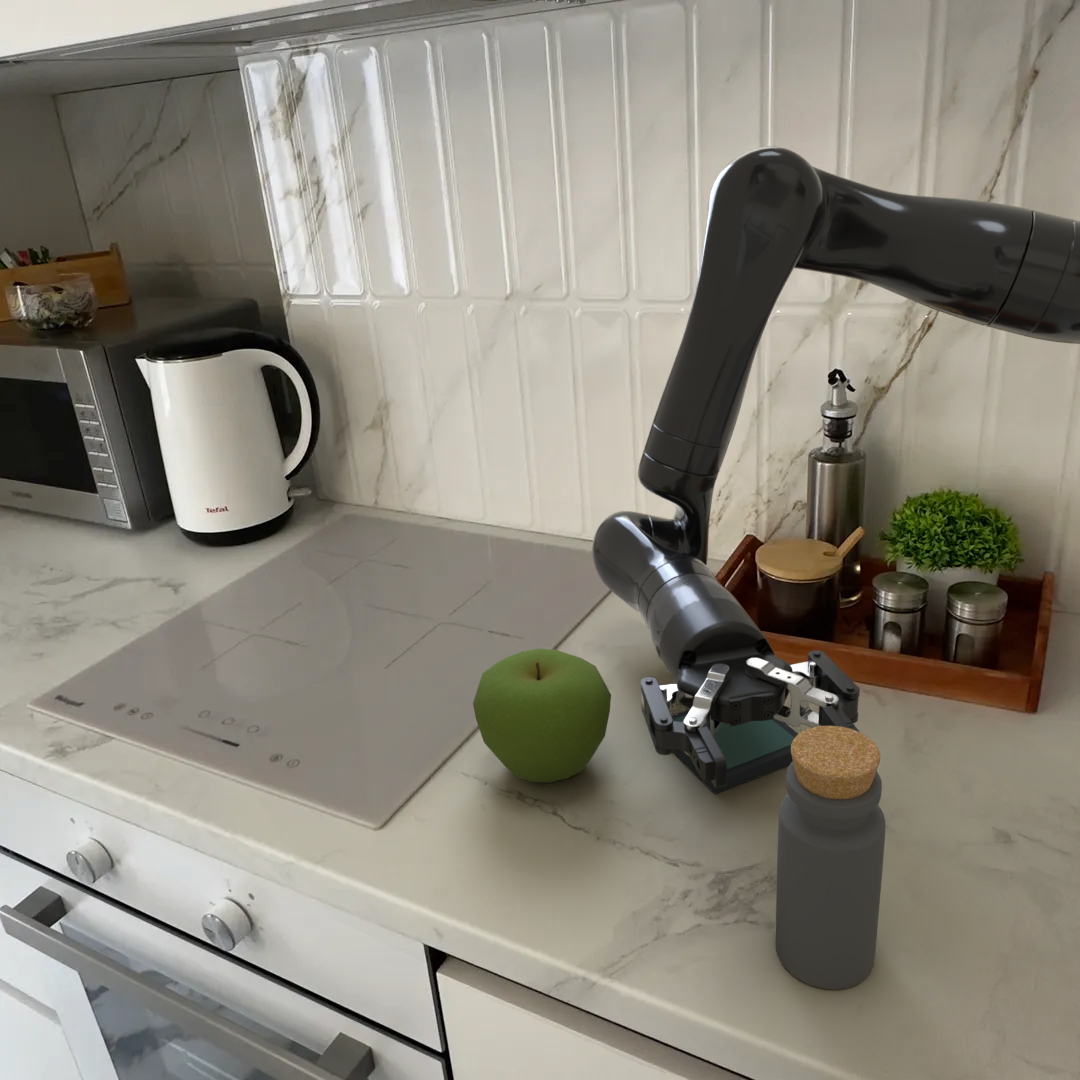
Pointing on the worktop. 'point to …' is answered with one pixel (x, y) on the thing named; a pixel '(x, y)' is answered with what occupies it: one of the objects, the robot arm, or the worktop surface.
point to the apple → (542, 713)
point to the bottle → (830, 858)
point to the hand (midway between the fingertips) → (787, 764)
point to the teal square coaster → (747, 750)
